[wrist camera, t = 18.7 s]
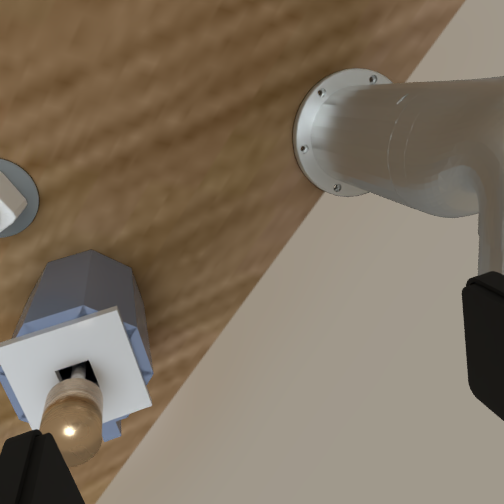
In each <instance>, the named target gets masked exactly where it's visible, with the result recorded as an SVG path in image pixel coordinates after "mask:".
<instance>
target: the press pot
mask: <svg viewBox="0 0 504 504" xmlns="http://www.w3.org/2000/svg"><path fill="white" fill-rule="evenodd" d="M84 361H87V366H86V376H85V379H86V380H89V381H91V382H93V383H94V384H96V385H97V386H98V387H99V389H100V390H101V392H102V395H103V419H102V437H103V440H104V442H106V441H108V440H111V439H114V438H117V437H119V436H121V420H122V419H124V418H127V417H128V416H129V414H130V413H133V412H136V411H138V410H141V409H144V408H147V407H150V406H152V400H151V397H150V394H149V391H148V389H147V386H146V385H147V384H148V382H149V380H150V379H151V377H152V375H153V367H152V359H151V352H150V345H149V338H148V331H147V324H146V317H145V310H144V304H143V301H142V298H141V295H140V292H139V289H138V286H137V283H136V280H135V277H134V274H133V272H132V269H131V268H130V267H128V266H126V265H124V264H122V263H120V262H117V261H115V260H113V259H111V258H109V257H107V256H105V255H102V254H100V253H98V252H96V251H94V250H88V251H85V252H82V253H78V254H75V255H71V256H68V257H65V258H61V259H58V260H54V261H51V262H48V263H47V265H46V267H45V269H44V271H43V272H42V274H41V276H40V278H39V280H38V282H37V284H36V285H35V287H34V289H33V291H32V293H31V295H30V297H29V299H28V301H27V303H26V305H25V308H24V310H23V312H22V315H21V317H20V319H19V322H18V324H17V326H16V329H15V331H14V333H13V336H12V338H11V339H10V340H7V341H4V342H0V382H1V384H2V386H3V388H4V390H5V392H6V394H7V396H8V398H9V400H10V402H11V404H12V406H13V408H14V410H15V412H16V414H17V416H18V418H19V420H21V421H25V422H28V423H29V424H30V426H31V428H32V430H35V429H38V430H39V428H40V423H41V419H42V415H43V410H44V406H45V401H46V397H47V395H48V393H49V391H50V390H51V389H52V388H53V387H54V386H55V385H56V384H58V383H59V382H61V381H64V380H66V379H70V378H71V372H72V365H75V364H78V363H81V362H84Z"/></svg>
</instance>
